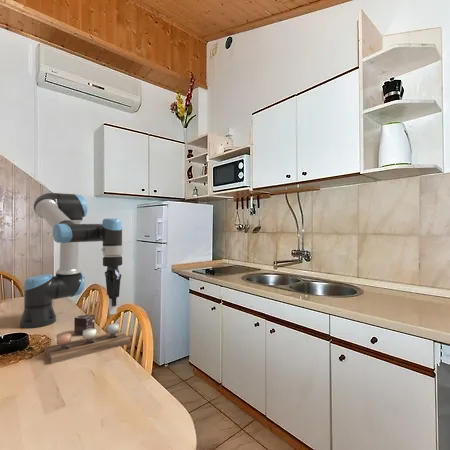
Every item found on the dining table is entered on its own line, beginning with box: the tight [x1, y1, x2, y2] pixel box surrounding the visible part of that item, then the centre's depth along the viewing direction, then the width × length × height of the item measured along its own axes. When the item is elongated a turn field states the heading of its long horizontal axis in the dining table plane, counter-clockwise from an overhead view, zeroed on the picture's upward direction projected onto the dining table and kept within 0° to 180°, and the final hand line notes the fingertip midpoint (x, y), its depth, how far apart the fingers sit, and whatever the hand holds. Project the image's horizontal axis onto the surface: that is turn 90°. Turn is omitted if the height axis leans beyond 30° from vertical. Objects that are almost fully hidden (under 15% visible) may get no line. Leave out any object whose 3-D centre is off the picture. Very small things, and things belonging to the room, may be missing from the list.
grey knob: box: [106, 323, 120, 337], centre depth 122 cm, size 5×5×4 cm
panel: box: [45, 330, 131, 364], centre depth 117 cm, size 12×28×2 cm, turn 129°
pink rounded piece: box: [56, 332, 72, 348], centre depth 111 cm, size 5×5×4 cm
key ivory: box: [82, 327, 97, 343], centre depth 117 cm, size 5×5×4 cm
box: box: [73, 313, 95, 336], centre depth 134 cm, size 6×6×7 cm
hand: (113, 313), depth 122 cm, fingers closed
